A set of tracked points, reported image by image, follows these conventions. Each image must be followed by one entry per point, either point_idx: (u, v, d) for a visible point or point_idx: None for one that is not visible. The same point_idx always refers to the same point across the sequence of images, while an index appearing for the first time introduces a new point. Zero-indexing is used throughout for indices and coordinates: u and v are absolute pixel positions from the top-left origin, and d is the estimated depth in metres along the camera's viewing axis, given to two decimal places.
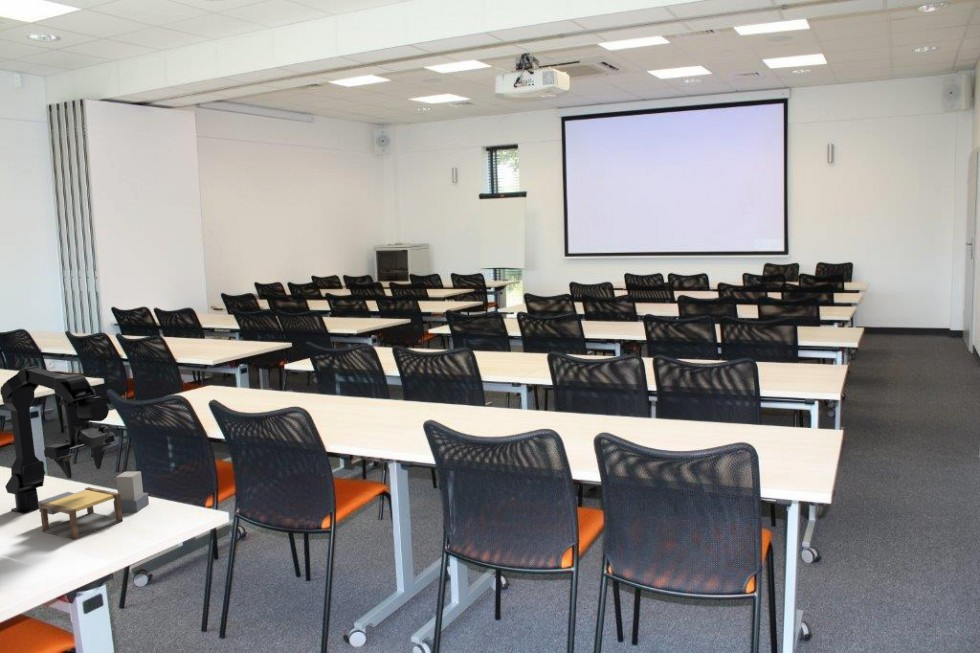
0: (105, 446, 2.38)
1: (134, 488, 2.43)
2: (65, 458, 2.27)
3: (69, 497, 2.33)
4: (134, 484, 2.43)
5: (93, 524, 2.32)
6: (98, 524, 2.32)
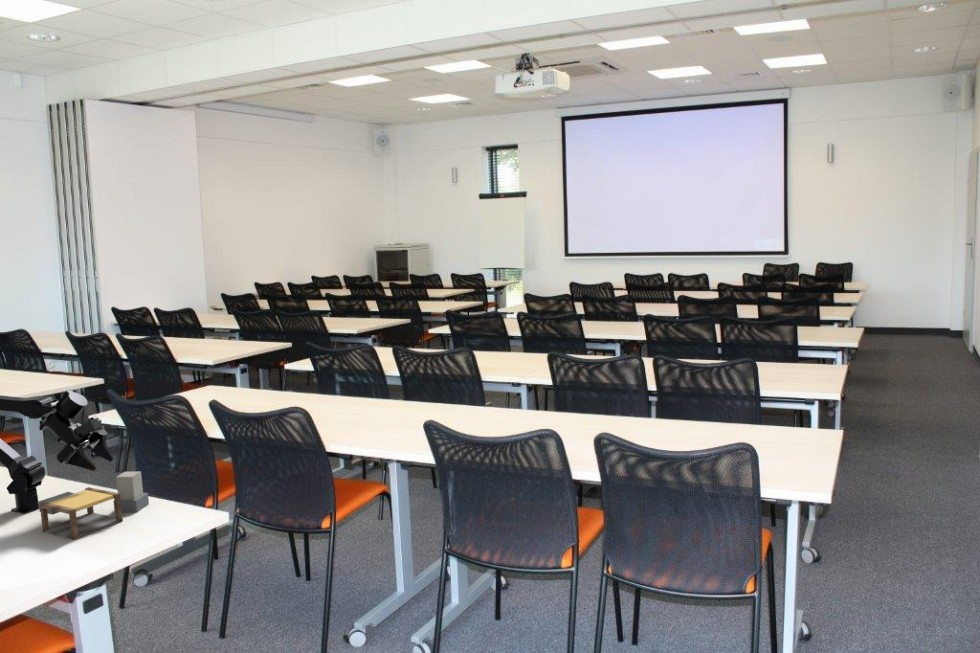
0: (103, 438, 2.50)
1: (134, 488, 2.43)
2: (79, 450, 2.38)
3: (69, 497, 2.33)
4: (134, 484, 2.43)
5: (93, 524, 2.32)
6: (98, 524, 2.32)
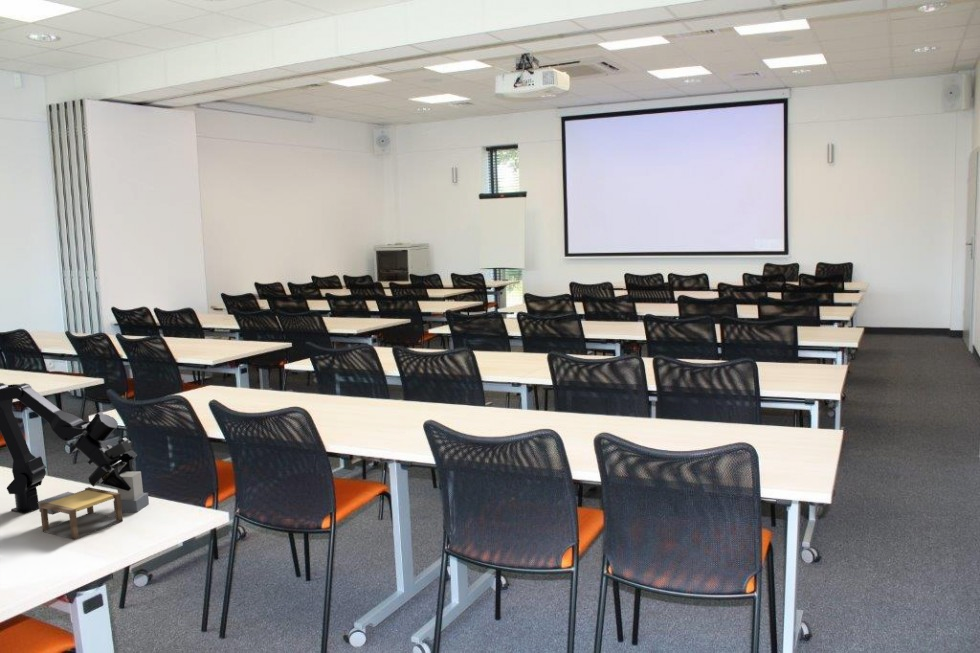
0: (130, 461, 2.49)
1: (134, 488, 2.43)
2: (114, 470, 2.40)
3: (69, 497, 2.33)
4: (134, 484, 2.43)
5: (93, 524, 2.32)
6: (98, 524, 2.32)
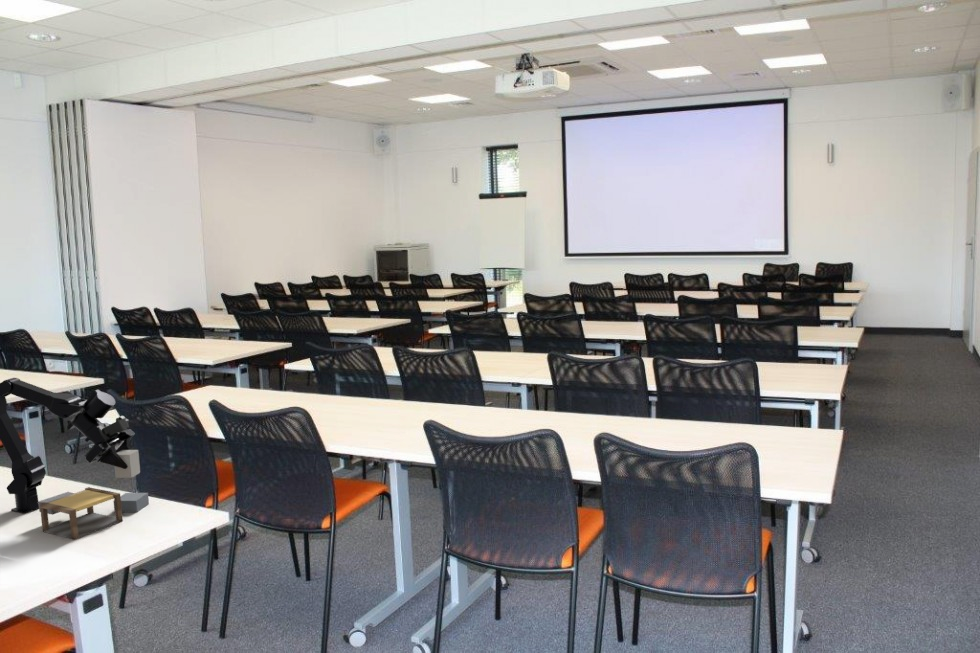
0: (127, 440, 2.47)
1: (131, 466, 2.42)
2: (111, 448, 2.39)
3: (69, 497, 2.33)
4: (131, 462, 2.42)
5: (93, 524, 2.32)
6: (98, 524, 2.32)
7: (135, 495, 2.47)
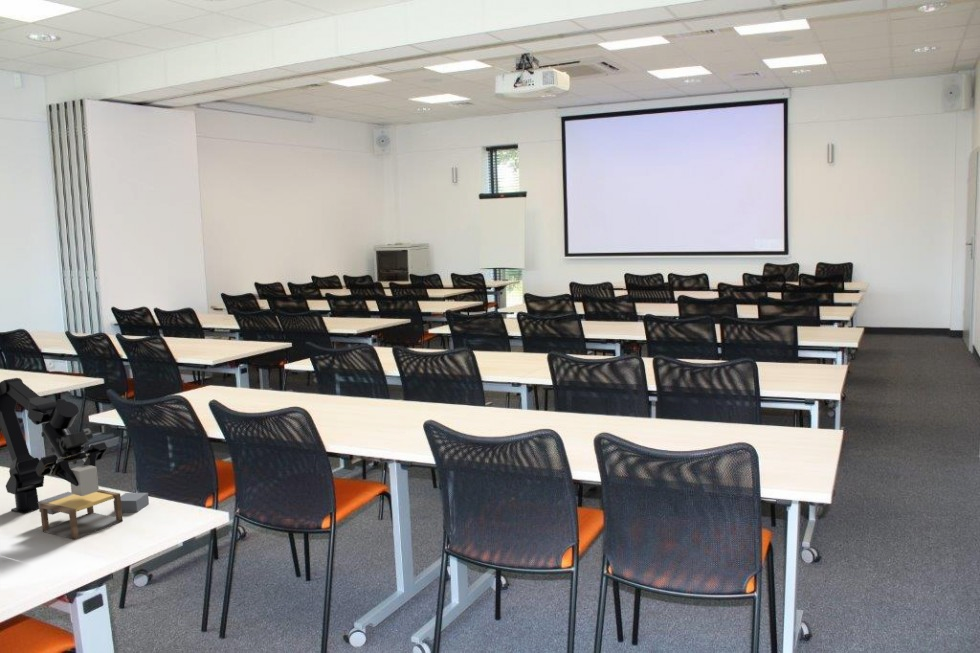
0: (92, 454, 2.33)
1: (81, 484, 2.26)
2: (61, 463, 2.25)
3: (69, 497, 2.33)
4: (82, 480, 2.26)
5: (93, 524, 2.32)
6: (98, 524, 2.32)
7: (135, 495, 2.47)
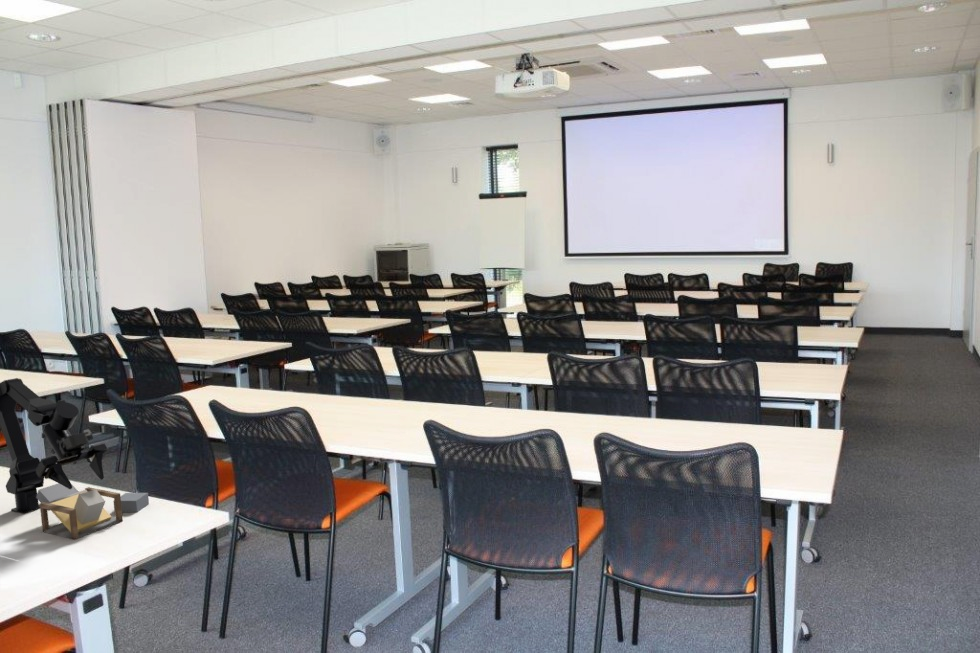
0: (98, 454, 2.34)
1: (85, 515, 2.27)
2: (55, 466, 2.24)
3: (69, 500, 2.33)
4: (87, 512, 2.27)
5: None
6: (98, 524, 2.32)
7: (135, 495, 2.47)
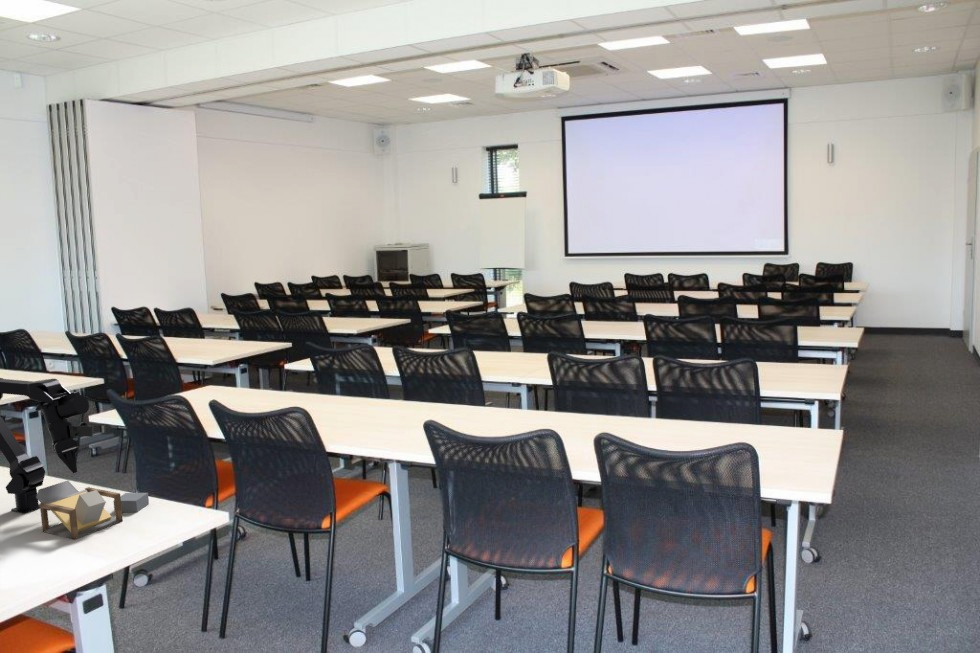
0: None
1: (86, 516, 2.27)
2: (78, 448, 2.38)
3: (69, 500, 2.33)
4: (88, 512, 2.27)
5: None
6: (98, 524, 2.32)
7: (135, 495, 2.47)
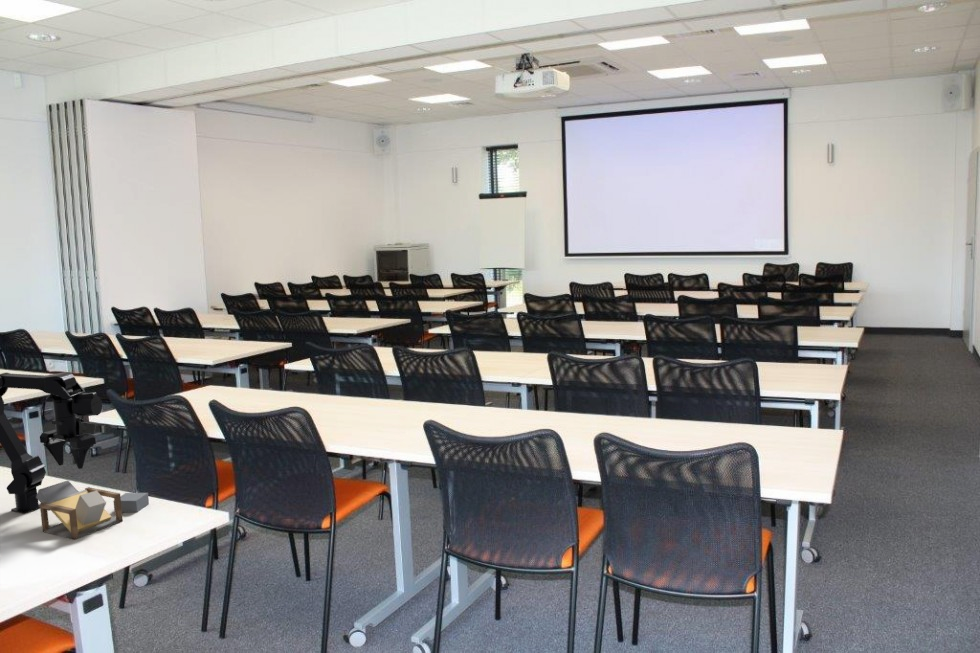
0: None
1: (86, 516, 2.27)
2: None
3: (69, 500, 2.33)
4: (88, 513, 2.27)
5: None
6: (98, 524, 2.32)
7: (135, 495, 2.47)
